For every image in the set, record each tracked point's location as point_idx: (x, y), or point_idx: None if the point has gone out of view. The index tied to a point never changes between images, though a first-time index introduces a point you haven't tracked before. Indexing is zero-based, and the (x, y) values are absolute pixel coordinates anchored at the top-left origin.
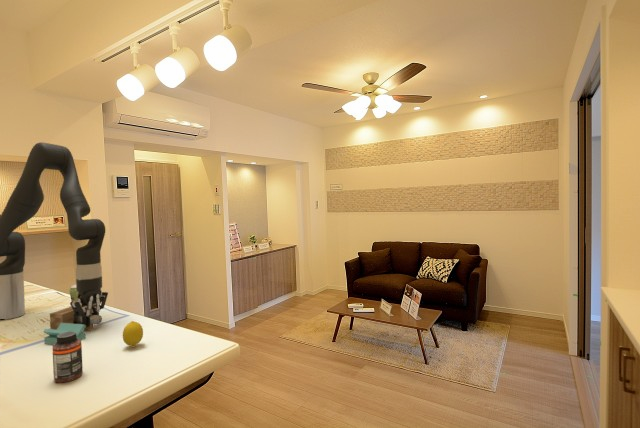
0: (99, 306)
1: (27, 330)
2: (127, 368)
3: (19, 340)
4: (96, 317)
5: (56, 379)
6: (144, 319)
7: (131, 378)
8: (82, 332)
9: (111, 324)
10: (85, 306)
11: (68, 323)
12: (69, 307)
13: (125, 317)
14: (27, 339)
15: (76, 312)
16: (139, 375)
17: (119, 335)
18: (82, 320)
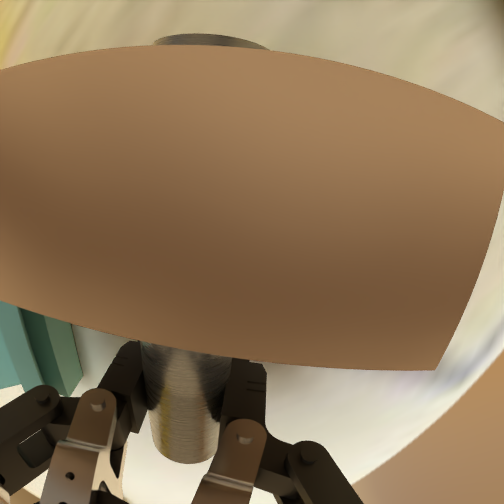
0: (275, 490)
1: None
2: (42, 483)
3: (3, 20)
4: (163, 451)
5: None
6: (362, 470)
7: (32, 484)
8: (60, 388)
9: (301, 398)
10: (304, 360)
11: (3, 337)
12: (199, 79)
13: (425, 392)
14: (9, 46)
15: (18, 417)
16: (42, 491)
17: (158, 467)
18: (107, 373)
